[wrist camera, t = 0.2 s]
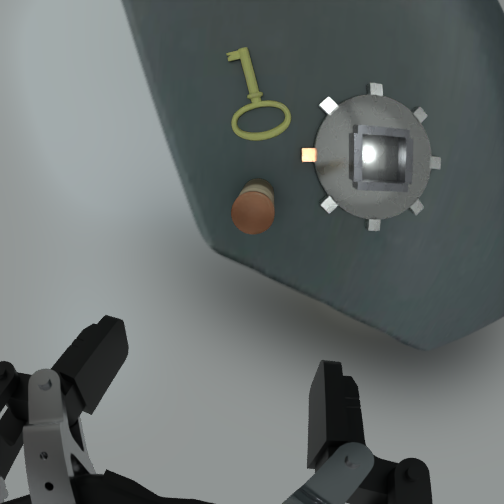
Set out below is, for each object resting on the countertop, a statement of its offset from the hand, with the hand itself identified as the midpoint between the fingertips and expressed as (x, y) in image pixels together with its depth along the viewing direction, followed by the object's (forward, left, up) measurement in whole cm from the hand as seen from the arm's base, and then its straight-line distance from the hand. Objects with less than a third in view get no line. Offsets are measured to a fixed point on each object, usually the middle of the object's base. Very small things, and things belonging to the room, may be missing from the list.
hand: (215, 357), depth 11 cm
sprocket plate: (-6, +15, -29) cm, 33 cm away
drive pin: (-1, 0, -29) cm, 29 cm away
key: (-13, 0, -30) cm, 32 cm away
